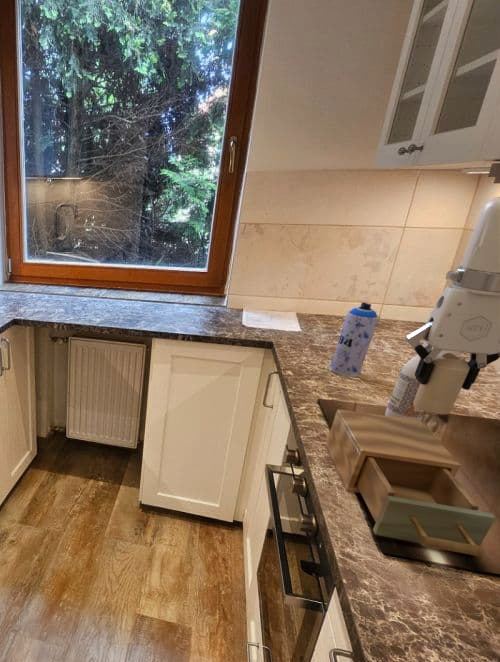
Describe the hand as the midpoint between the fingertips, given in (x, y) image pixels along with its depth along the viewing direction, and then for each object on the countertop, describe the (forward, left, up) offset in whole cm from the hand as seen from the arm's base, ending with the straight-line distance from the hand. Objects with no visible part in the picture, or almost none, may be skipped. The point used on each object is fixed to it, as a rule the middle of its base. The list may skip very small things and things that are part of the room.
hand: (441, 383), depth 83 cm
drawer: (+5, +18, -18) cm, 26 cm away
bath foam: (-8, -24, -19) cm, 32 cm away
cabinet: (+5, +2, -19) cm, 20 cm away
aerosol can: (-3, -52, -19) cm, 56 cm away
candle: (0, 0, -5) cm, 5 cm away
